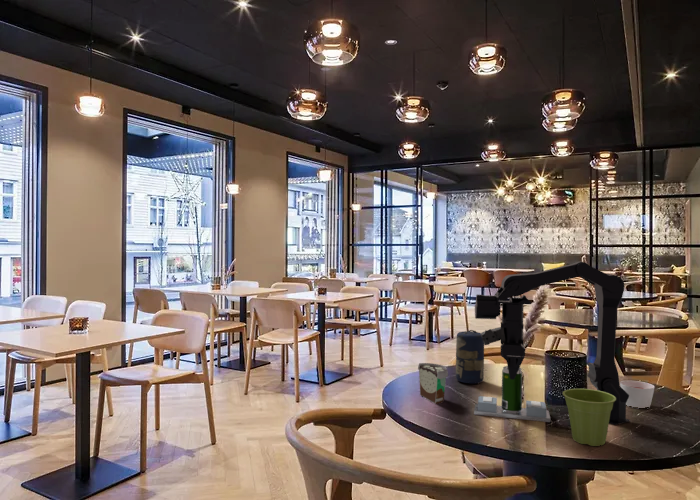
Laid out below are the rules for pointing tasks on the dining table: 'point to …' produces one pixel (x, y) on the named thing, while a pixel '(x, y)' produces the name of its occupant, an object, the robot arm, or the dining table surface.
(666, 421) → the dining table surface
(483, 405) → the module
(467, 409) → the dining table surface
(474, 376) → the canister
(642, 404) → the white tapered cup
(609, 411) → the plant pot
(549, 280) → the robot arm
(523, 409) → the rail
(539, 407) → the module
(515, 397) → the beer can
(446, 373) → the food container
